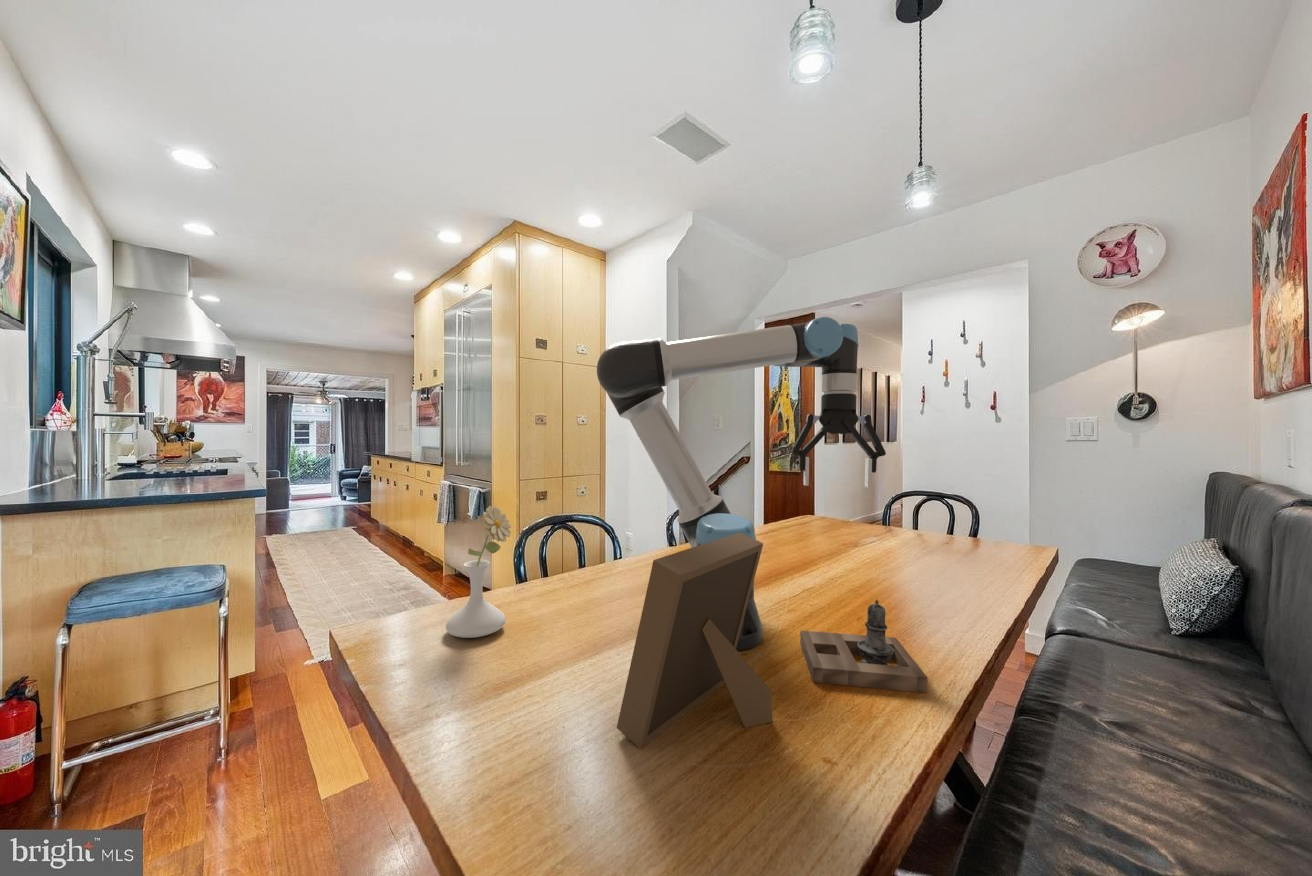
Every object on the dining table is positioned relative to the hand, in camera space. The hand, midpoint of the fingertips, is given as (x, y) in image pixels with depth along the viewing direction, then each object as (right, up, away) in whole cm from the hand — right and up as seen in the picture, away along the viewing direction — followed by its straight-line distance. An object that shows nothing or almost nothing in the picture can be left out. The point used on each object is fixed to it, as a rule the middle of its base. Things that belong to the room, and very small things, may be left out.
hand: (836, 486), depth 110 cm
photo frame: (-34, -29, -42) cm, 61 cm away
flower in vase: (-77, -28, -13) cm, 83 cm away
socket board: (-6, -29, -25) cm, 39 cm away
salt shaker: (-3, -30, -26) cm, 39 cm away
